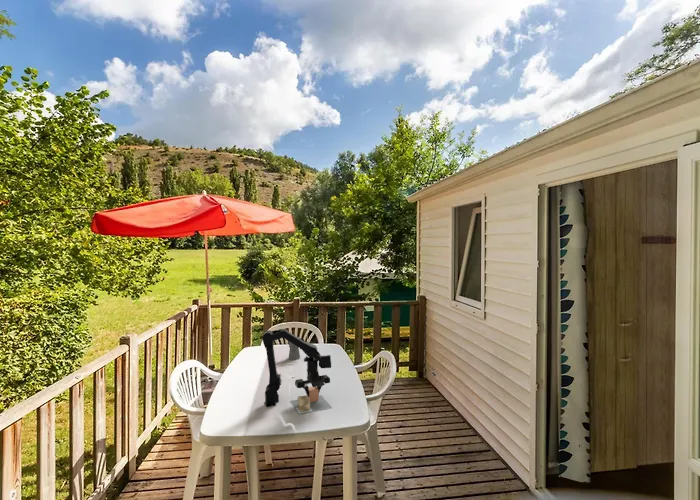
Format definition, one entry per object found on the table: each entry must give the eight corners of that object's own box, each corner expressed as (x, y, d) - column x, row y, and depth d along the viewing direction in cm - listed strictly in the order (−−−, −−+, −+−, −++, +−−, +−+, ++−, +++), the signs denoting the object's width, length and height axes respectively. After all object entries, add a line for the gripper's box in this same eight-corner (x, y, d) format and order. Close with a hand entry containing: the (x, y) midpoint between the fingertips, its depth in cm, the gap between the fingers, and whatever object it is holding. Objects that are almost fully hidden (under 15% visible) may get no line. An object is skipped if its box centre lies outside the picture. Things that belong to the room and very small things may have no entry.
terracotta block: (309, 402, 201) (309, 391, 201) (307, 398, 206) (307, 387, 206) (318, 400, 203) (318, 389, 203) (315, 396, 208) (315, 386, 208)
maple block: (300, 412, 189) (300, 400, 189) (297, 408, 194) (297, 396, 194) (309, 410, 191) (309, 398, 191) (306, 406, 196) (306, 395, 196)
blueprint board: (299, 416, 186) (299, 414, 186) (290, 402, 203) (289, 400, 203) (332, 409, 194) (332, 408, 194) (321, 396, 210) (321, 395, 210)
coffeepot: (283, 359, 278) (283, 335, 278) (289, 355, 287) (289, 332, 287) (301, 361, 273) (301, 336, 272) (307, 357, 282) (307, 333, 281)
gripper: (300, 376, 193) (300, 405, 193) (333, 370, 200) (334, 399, 201) (294, 369, 203) (294, 397, 203) (326, 364, 211) (326, 391, 211)
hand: (312, 396), depth 204 cm, fingers closed on terracotta block, 5 cm apart
